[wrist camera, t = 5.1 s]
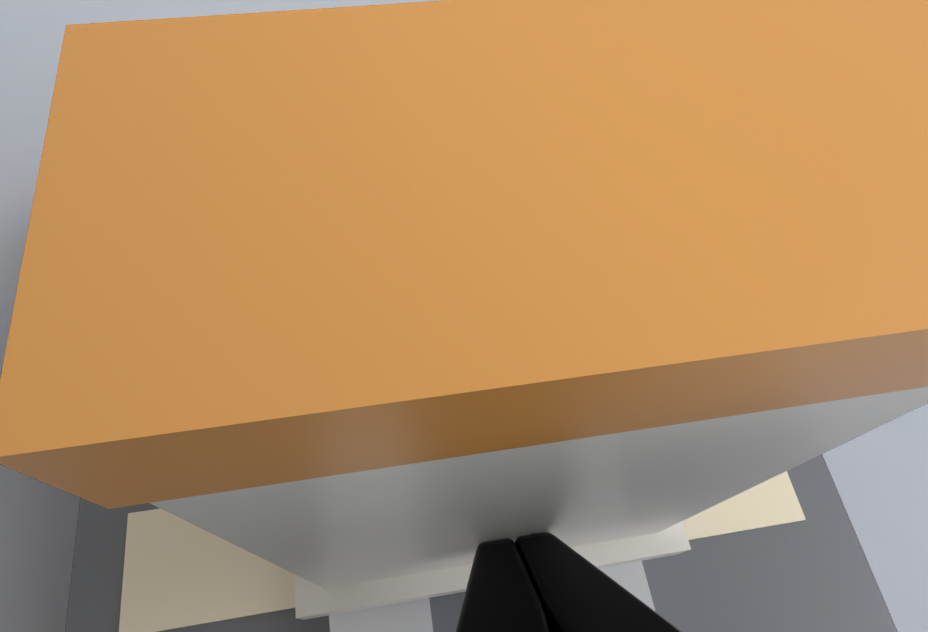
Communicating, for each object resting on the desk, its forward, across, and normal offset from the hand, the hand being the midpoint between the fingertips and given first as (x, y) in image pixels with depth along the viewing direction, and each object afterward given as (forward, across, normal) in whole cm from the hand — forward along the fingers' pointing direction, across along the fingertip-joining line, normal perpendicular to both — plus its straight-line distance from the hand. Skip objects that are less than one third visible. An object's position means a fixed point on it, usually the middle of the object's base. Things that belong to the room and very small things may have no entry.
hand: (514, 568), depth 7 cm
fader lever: (+4, 0, +2) cm, 4 cm away
